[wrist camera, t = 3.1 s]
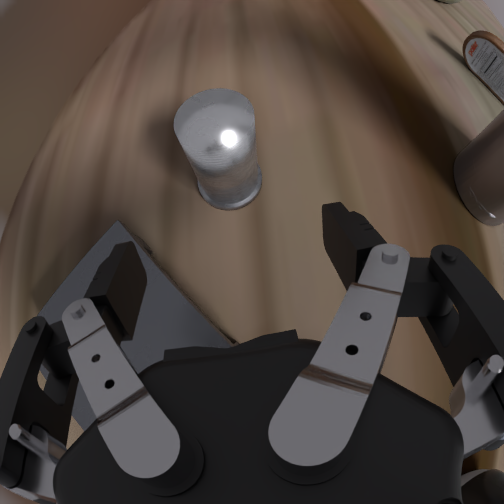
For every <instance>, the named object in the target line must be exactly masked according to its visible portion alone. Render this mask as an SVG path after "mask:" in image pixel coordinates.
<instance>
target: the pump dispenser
mask: <svg viewBox="0 0 504 504" xmlns="http://www.w3.org/2000/svg"><path fill="white" fill-rule="evenodd" d="M461 495H462V501H463V504H504V472H502V471H500V470H497V469H491V470H487V469H481V470H475V471H471V472H469V473H466V474H464V475H462V476H461Z"/></svg>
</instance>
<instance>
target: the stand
mask: <svg viewBox="0 0 504 504" xmlns="http://www.w3.org/2000/svg"><path fill="white" fill-rule="evenodd" d="M128 241H132V242H133V243H134V244H135V246H136V249H137V251H138V254H139V256H140V259H141V261H142V264H143V266H144V268H145V271H146V274H147V286H146V290H145V293H144V297H143V301H142V304H141V308H140V312H139V316H138V320H137V324H136V328H135V332H134V336H133V340H131V341H121V345H120V346H121V348H122V349H123V351H124V352H125V354H126V355H127V357H128V358H129V360H130V361H131V363H132V364H133V366H134V367H135V369H136V370H137V372H138V373H140V372H141V371H142V370H144V369H145V368H147V367H148V366H150V365H152V364H154V363H156V362H158V361H161V360H163V357H164V350H166V349H175V348H183V347H191V346H201V347H215V348H230V347H233V346H236V345H239V343H238V342H236V343H235V344H233V343H232V342H231V341H230V340H229V339H228V338H227V337H226V336H225V335H224V334H223V333H222V332H221V331H220V330H219V329H218V328H217V327H216V326H215V325H214V324H213V323H212V322H211V321H210V320H209V319H208V318H207V317H206V316H205V315H204V314H203V313H202V312H201V311H200V310H199V309H198V307H197V306H196V305H195V304H194V303H193V302H192V301H191V300H190V299H189V298H188V297H187V296H186V295H185V294H184V292H183V291H182V290H181V289H180V288H179V287H178V286H177V285H176V284H175V283H174V281H173V280H172V279H171V278H170V277H169V276H168V275H167V274H166V273H165V271H164V270H163V269H162V268H161V267H160V266H159V265H158V263H157V262H156V261H155V260H154V259H153V258H152V257H151V254H152V253H153V251H152V250H151V249H150V248H149V247H148V246H147V245H146V243H145V242H144V241H143V240H142V239H140V238H139V237H137V236H136V235H134V234H133V233H131V232H130V231H129V229H128V228H127V227H126V226H125V224H123V223H122V222H120V221H119V220H117V221H116V222H115V223H114V224H113V225H112V226H111V228H110V229H109V230H108V231H107V232H106V233H105V234H104V235H103V236H102V237H101V238H100V239H99V241H98V242H97V243H96V244H95V245H94V246H93V247H92V248H91V250H90V251H89V252H88V253H87V254H86V255H85V256H84V258H83V259H82V260H81V261H80V262H79V263H78V265H77V266H76V267H75V268H74V269H73V270H72V272H71V273H70V274H69V275H68V277H67V278H66V279H65V280H64V281H63V283H62V284H61V285H60V286H59V288H58V289H57V290H56V292H55V293H54V294H53V295H52V297H51V298H50V299H49V301H48V302H47V303H46V305H45V306H44V307H43V309H42V310H41V311H40V313H39V314H38V315H37V316H42V317H44V318H45V319H46V321H47V322H48V324H49V325H50V324H53V323H55V322H58V321H60V320H62V315H63V312H64V311H65V309H66V308H67V307H68V306H69V305H70V304H71V303H73V302H74V301H76V300H79V299H82V298H84V296H85V293H86V291H87V289H88V287H89V285H90V283H91V281H93V277H94V275H95V274H96V271H97V269H98V267H99V265H100V264H101V263H102V262H103V261H104V260H105V259H106V258H107V257H109V255H110V253H111V251H112V249H113V247H114V246H115V245H116V244H119V243H124V242H128ZM40 371H41V373H42V374H43V376H44V377H45V379H46V380H47V377H48V374H49V372H48V371H47V369H46V368H45V367H44V366H43V365H42V364H41V367H40ZM72 416H73V417H74V419H75V420H76V421H77V422H78V424H79V425H80V426H81V427H82V429H83V430H84V431H85V430H86V429H87V428H88V427H89V426H90V425H91V424H92V423H93V422H94V421H95V420H96V418H97V417H96V415H95V413H94V411H93V409H92V407H91V405H90V403H89V401H88V398H87V396H86V394H85V392H84V389H83V387H82V385H81V383H80V380H79V382H78V387H77V391H76V396H75V400H74V405H73V410H72Z"/></svg>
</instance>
